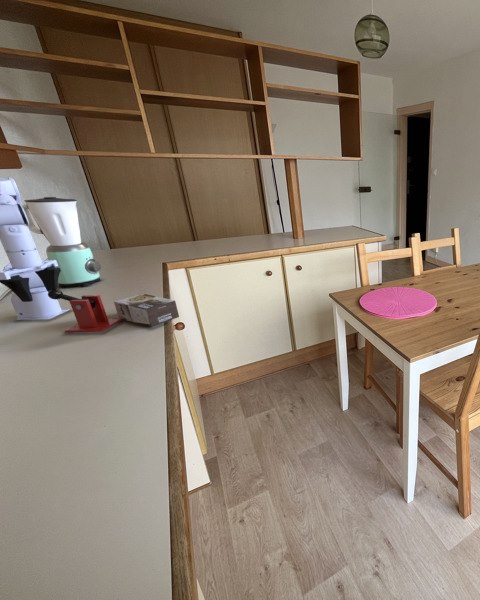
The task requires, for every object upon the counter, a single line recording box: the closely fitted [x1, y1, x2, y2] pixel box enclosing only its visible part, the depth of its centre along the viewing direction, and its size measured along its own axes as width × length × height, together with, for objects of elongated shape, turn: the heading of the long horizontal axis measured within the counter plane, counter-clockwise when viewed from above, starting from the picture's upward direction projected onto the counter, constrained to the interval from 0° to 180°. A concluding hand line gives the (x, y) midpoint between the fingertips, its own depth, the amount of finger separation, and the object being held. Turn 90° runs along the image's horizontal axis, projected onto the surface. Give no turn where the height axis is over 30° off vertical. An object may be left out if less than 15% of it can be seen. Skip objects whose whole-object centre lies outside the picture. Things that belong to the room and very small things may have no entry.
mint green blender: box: [22, 196, 102, 289], centre depth 126 cm, size 19×13×35 cm
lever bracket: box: [64, 294, 123, 334], centre depth 94 cm, size 10×8×10 cm
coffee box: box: [113, 293, 180, 328], centre depth 101 cm, size 9×6×16 cm
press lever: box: [48, 288, 96, 308], centre depth 92 cm, size 11×3×3 cm, turn 96°
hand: (41, 296), depth 90 cm, fingers open, 7 cm apart
